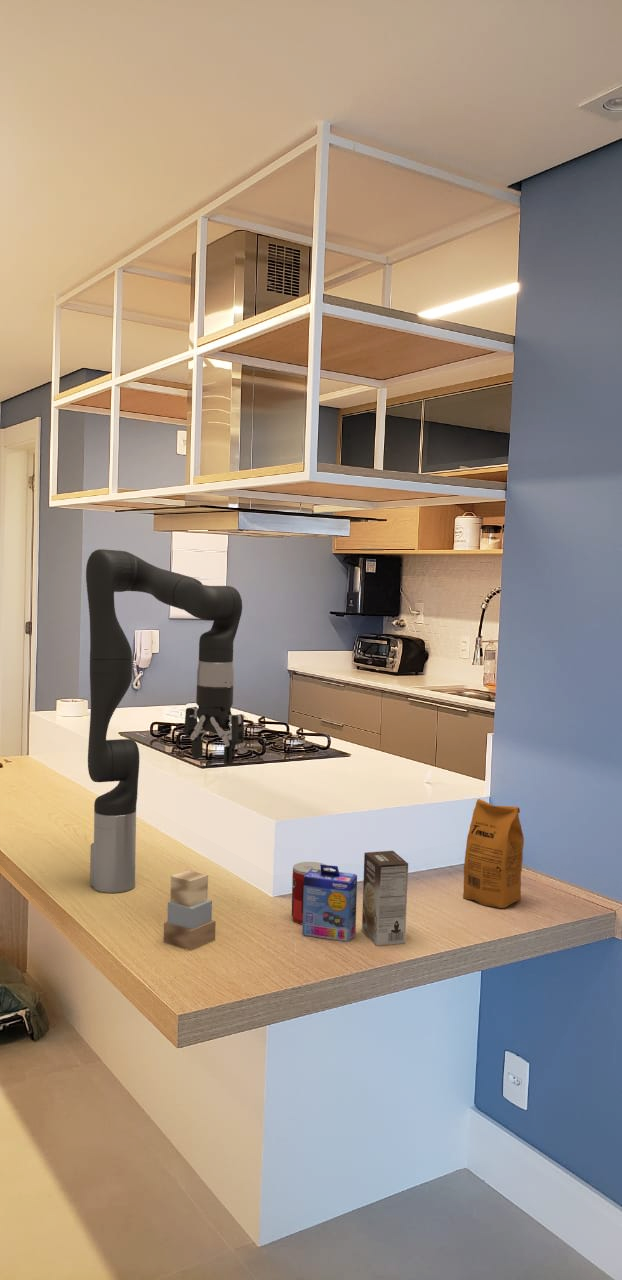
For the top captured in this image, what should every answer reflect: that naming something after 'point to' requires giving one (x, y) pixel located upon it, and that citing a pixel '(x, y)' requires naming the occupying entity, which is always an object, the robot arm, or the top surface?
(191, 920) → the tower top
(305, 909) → the ink cartridge box
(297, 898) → the canned food
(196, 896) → the oak cube
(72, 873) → the top surface
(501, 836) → the coffee package
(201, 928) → the tower base
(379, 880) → the coffee box
